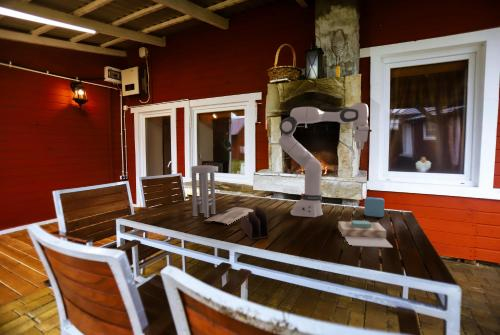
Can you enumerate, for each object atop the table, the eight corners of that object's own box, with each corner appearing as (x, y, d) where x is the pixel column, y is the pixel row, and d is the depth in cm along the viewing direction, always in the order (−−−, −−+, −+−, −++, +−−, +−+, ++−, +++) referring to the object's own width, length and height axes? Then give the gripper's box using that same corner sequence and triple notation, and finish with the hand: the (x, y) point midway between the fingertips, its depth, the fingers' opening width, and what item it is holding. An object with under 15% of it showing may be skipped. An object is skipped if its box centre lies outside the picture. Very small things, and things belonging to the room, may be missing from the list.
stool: (188, 217, 184) (186, 167, 180) (200, 212, 198) (199, 165, 195) (208, 219, 178) (207, 167, 175) (219, 213, 193) (218, 165, 189)
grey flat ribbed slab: (232, 210, 205) (232, 206, 205) (255, 212, 196) (255, 209, 196) (204, 223, 172) (203, 219, 172) (230, 227, 163) (229, 223, 163)
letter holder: (256, 227, 162) (256, 204, 161) (269, 238, 143) (268, 212, 142) (240, 229, 159) (240, 205, 158) (251, 240, 140) (250, 214, 139)
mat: (349, 245, 131) (349, 244, 131) (344, 237, 143) (344, 236, 143) (392, 247, 128) (392, 246, 128) (384, 238, 140) (384, 238, 140)
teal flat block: (353, 227, 147) (353, 223, 146) (351, 223, 152) (351, 220, 152) (371, 227, 145) (371, 224, 145) (368, 224, 151) (368, 220, 151)
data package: (383, 215, 182) (384, 198, 181) (383, 217, 178) (384, 199, 177) (364, 213, 187) (365, 196, 186) (364, 215, 183) (364, 198, 182)
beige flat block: (342, 236, 144) (342, 229, 144) (338, 227, 158) (338, 221, 158) (386, 238, 140) (386, 230, 140) (378, 229, 154) (378, 222, 154)
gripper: (352, 128, 187) (351, 148, 189) (359, 127, 167) (358, 149, 169) (361, 128, 186) (360, 148, 188) (369, 127, 166) (369, 149, 168)
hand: (359, 148), depth 178 cm, fingers open, 8 cm apart
